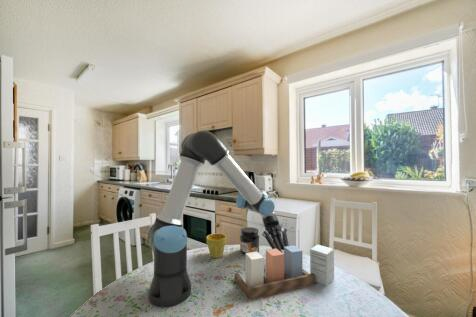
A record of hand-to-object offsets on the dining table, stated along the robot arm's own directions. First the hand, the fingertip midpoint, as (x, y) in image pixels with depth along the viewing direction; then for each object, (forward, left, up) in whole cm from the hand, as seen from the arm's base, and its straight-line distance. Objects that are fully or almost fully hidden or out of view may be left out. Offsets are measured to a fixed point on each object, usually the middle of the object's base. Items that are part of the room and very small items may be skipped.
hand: (287, 265), depth 95 cm
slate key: (0, -4, -3) cm, 5 cm away
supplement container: (-7, +26, -3) cm, 27 cm away
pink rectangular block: (-9, -5, -3) cm, 11 cm away
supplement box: (+11, -9, -3) cm, 14 cm away
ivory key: (-18, -5, -3) cm, 19 cm away
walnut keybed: (-9, -4, -3) cm, 10 cm away
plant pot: (-25, +28, -3) cm, 38 cm away
